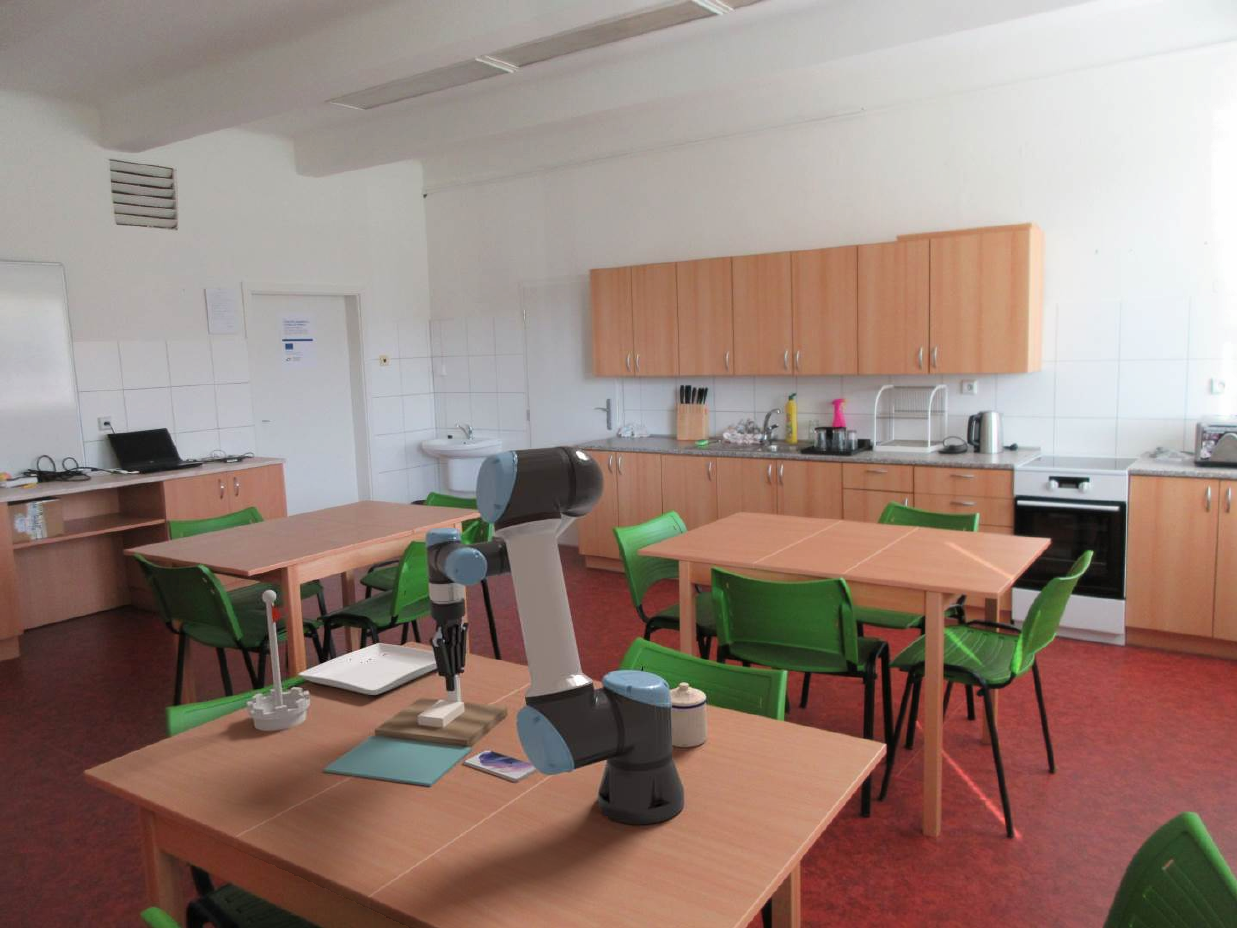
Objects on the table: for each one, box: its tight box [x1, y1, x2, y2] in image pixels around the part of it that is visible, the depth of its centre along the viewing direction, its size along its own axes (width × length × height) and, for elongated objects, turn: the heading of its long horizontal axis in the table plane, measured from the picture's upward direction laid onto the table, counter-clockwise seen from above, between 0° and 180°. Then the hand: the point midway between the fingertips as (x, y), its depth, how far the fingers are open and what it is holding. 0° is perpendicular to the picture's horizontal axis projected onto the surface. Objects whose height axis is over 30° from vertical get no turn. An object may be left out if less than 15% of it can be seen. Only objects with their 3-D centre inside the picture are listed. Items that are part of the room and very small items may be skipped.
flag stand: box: [246, 589, 311, 732], centre depth 204 cm, size 13×13×30 cm
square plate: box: [298, 642, 437, 696], centre depth 232 cm, size 27×27×4 cm
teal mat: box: [322, 735, 473, 787], centre depth 183 cm, size 16×24×1 cm, turn 70°
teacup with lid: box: [670, 682, 708, 748], centre depth 187 cm, size 12×9×12 cm
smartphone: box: [462, 749, 539, 783], centre depth 179 cm, size 7×1×15 cm
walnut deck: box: [374, 697, 509, 748], centre depth 199 cm, size 18×22×2 cm
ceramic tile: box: [418, 699, 465, 727], centre depth 198 cm, size 9×6×2 cm, turn 160°
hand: (454, 702), depth 203 cm, fingers closed
